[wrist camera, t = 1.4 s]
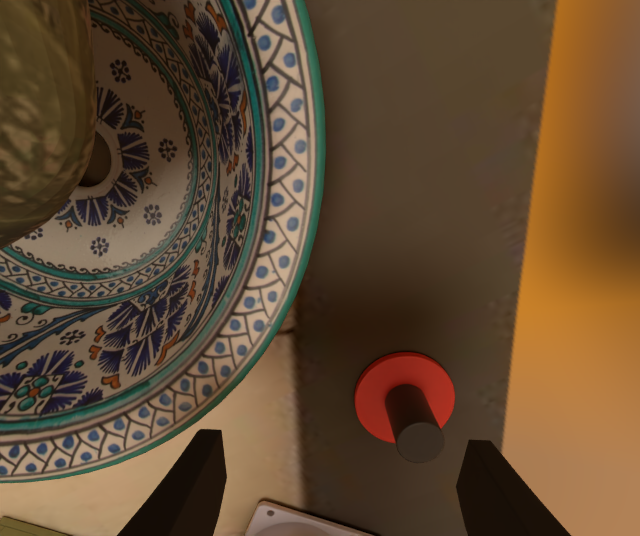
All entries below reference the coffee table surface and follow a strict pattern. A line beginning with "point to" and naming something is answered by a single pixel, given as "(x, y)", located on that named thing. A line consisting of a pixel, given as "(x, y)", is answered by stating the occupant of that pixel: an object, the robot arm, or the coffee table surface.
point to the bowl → (165, 234)
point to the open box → (23, 529)
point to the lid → (406, 403)
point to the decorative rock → (43, 109)
